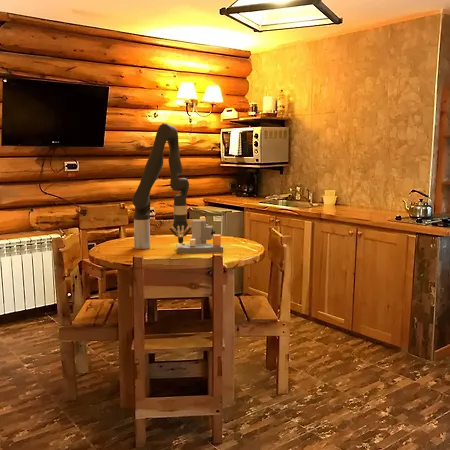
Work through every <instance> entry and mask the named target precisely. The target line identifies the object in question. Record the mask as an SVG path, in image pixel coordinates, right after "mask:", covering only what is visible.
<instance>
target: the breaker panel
mask: <svg viewBox="0 0 450 450" xmlns="http://www.w3.org/2000/svg"><path fill="white" fill-rule="evenodd" d="M210 253H211V254H212V253H224V246H223V245H222V244H221V246H213V243H206V244H195V246H190V243H185V242H183V243H182V244H176V254H210Z"/></svg>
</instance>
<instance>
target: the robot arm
mask: <svg viewBox="0 0 450 450" xmlns="http://www.w3.org/2000/svg"><path fill="white" fill-rule="evenodd" d="M166 143H167V144H168V148H169V154H168V167H169V171H170V180H169V181H170V182H169V185H170V188H171V190H172V191H174V192H179V193H178V194H176V195H174V196H173V212H172V213H173V224H172V226H170V227H169V230H170V231H171V232H172V234H173V235H174V236H175V237H177V242H178V243H179V244H182V243H184V237H186V236H188V234H189V233H190V232H191V231H192V228H191V227H192V226H191V227H190V225H189V224H188V209H187V197H188V193H189V189H190V188H189V187H190V182H189V180H188V179H187V178H185V177H182V178H181V177H178V176H180V175H182V174H183V172H184V169H183V165H182V162H181V161H182V160H181V156H180V146H179V145H180V144H179V132H178V130H177V128H176V127H175V126H173V125H171V124H168V123H162V124H160V125H159V126H158V128H157V131H156V134H155V137H154V141H153V145H152V148H151V150H150V153H149V155H148V158H147V161H146V163H145V166H144V169H143V171H142V172H143V173H142V174H141V178H140V182H139V185H138V186H137V189H136V190H135V192H134V194H133V196H132V199H131V201H132V205H133V206H134V214H133V240H134V241H133V243H134V244H133V247H134V249H136V250H137V249H139V250H146V249H150V248H151V224H150V223H151V220H150V216H151V198H150V193H151V190H152V187H153V186H154V184H155V183H156V182H157V179H158V178H159V176H160V173H161V171H162V168H163V166H164V148H165V145H166ZM184 231H185V232H184ZM176 232H177V233H176Z"/></svg>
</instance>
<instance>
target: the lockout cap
mask: <svg viewBox="0 0 450 450" xmlns="http://www.w3.org/2000/svg"><path fill="white" fill-rule="evenodd" d="M221 240H222V236H221V234H213V238H212V244H213V246H221V245H222V241H221Z"/></svg>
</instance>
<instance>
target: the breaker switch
mask: <svg viewBox="0 0 450 450" xmlns="http://www.w3.org/2000/svg"><path fill="white" fill-rule="evenodd" d="M189 244H190V246H195V239H191V238H189Z"/></svg>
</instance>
